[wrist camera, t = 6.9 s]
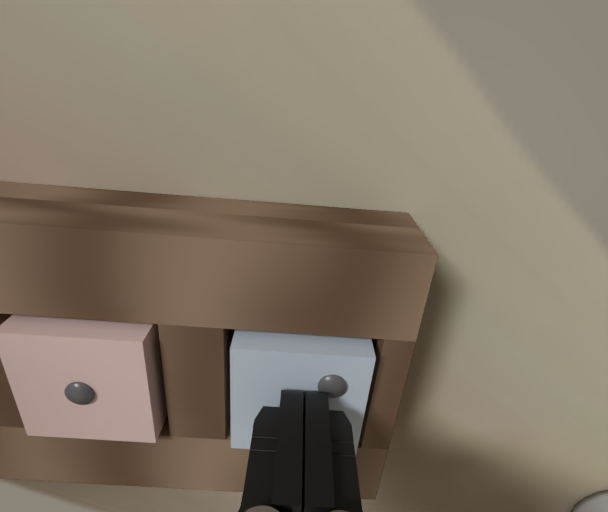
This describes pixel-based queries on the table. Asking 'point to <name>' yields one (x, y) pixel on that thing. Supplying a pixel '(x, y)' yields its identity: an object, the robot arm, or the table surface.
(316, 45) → the table surface
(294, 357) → the two-pip button
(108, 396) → the one-pip button
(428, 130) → the table surface
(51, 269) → the button panel
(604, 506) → the rook chess piece
